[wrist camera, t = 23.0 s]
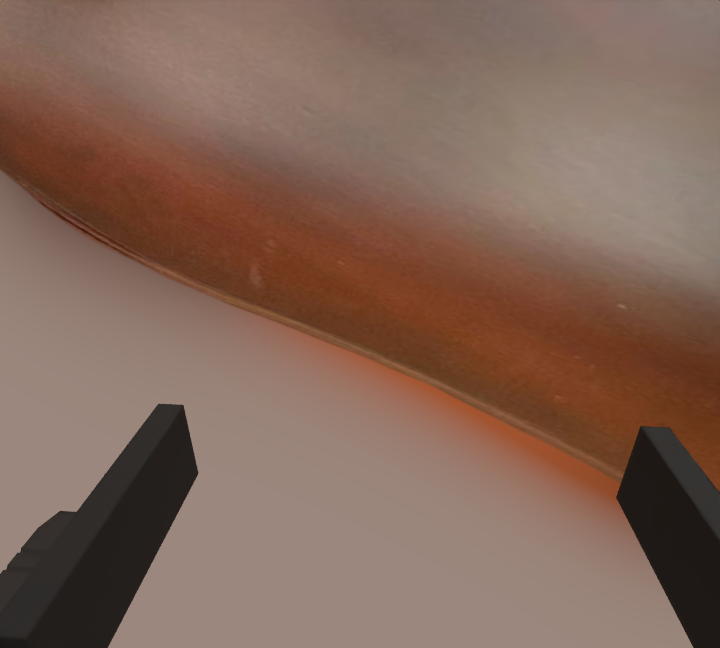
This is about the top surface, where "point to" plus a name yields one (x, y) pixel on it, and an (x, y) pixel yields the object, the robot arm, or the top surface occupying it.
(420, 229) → the top surface
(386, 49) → the top surface
